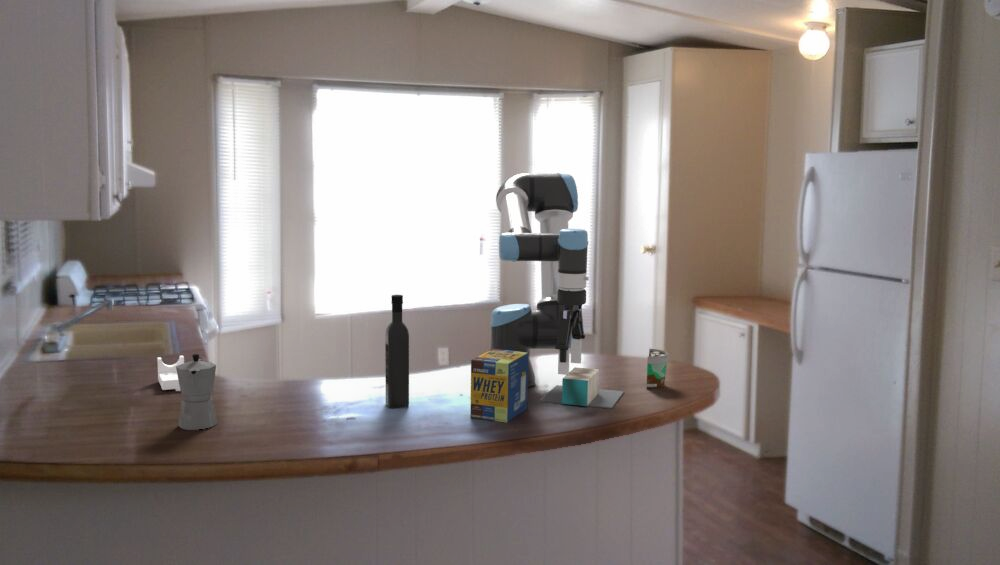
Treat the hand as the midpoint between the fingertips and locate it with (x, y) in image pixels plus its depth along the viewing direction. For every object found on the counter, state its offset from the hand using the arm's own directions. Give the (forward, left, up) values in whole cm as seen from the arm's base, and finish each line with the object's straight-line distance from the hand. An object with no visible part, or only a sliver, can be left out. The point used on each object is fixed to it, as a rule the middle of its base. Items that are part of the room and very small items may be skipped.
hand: (569, 368), depth 243 cm
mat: (0, +16, -12) cm, 20 cm away
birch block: (0, +6, -8) cm, 10 cm away
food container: (+18, +37, -12) cm, 43 cm away
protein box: (-17, -7, -12) cm, 22 cm away
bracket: (-114, -14, -12) cm, 115 cm away
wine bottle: (-45, -10, -12) cm, 48 cm away
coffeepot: (-84, -43, -12) cm, 95 cm away
